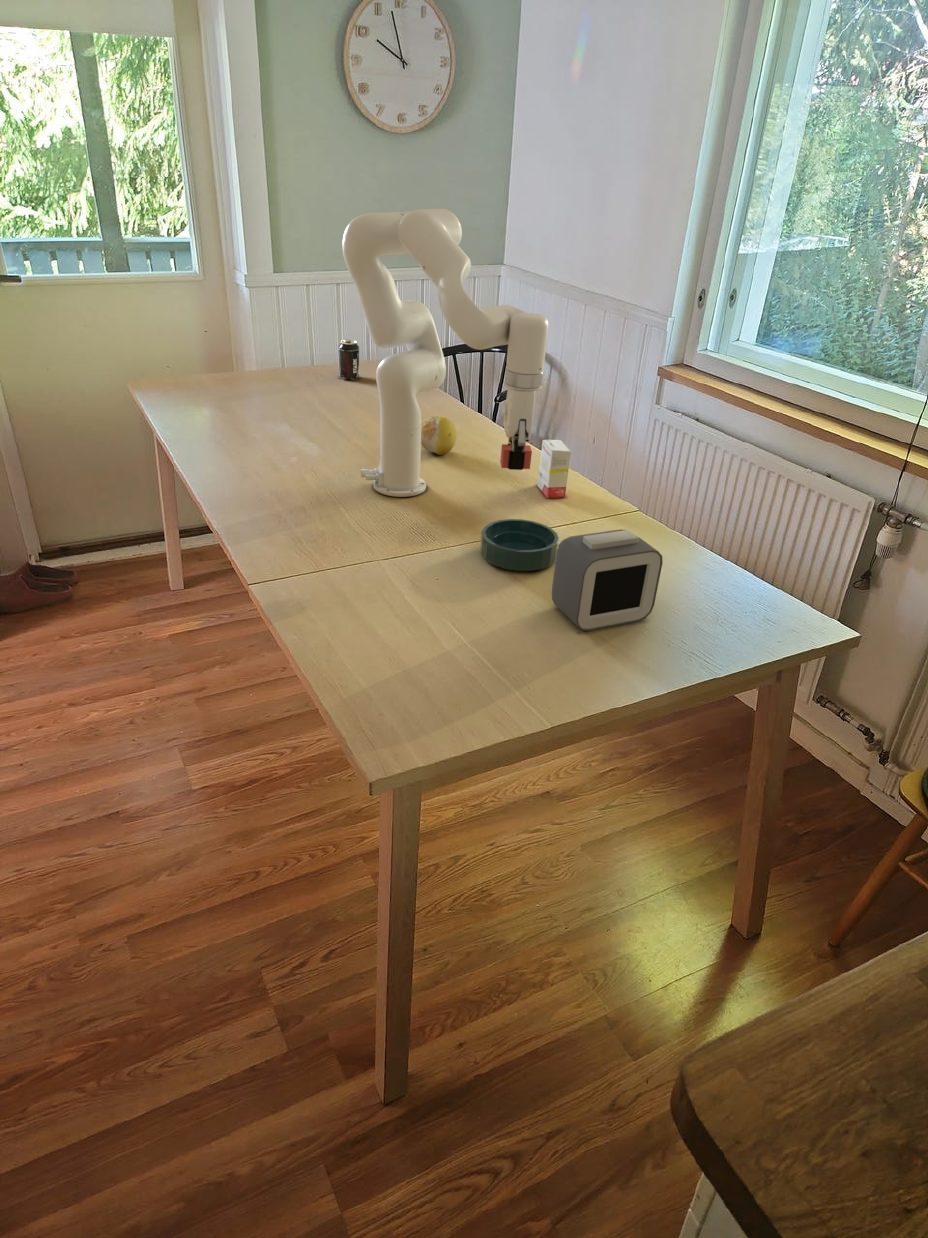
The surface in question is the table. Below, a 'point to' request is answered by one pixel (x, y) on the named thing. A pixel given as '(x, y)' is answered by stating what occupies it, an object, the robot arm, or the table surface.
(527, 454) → the eraser
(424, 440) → the fruit
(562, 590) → the alarm clock
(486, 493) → the table surface
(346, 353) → the beverage can
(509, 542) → the bowl
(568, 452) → the ink box
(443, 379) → the robot arm
